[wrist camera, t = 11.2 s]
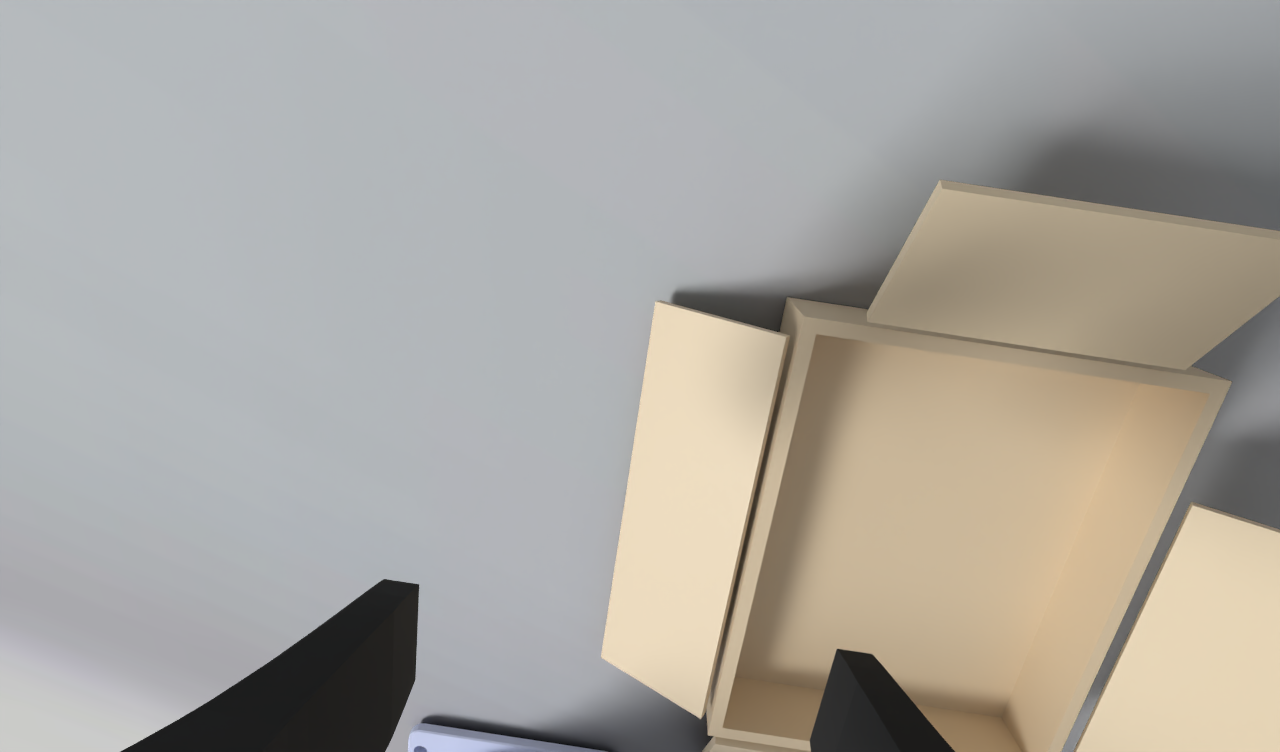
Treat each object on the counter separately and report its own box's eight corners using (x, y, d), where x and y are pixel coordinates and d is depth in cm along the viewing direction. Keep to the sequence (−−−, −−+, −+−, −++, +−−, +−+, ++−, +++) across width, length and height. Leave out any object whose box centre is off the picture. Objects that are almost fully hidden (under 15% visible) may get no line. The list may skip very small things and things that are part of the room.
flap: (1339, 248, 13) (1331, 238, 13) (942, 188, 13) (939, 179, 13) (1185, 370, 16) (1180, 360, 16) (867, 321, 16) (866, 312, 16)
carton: (975, 798, 24) (1009, 869, 22) (588, 738, 24) (578, 803, 22) (1161, 353, 19) (1236, 382, 16) (659, 277, 19) (656, 294, 16)
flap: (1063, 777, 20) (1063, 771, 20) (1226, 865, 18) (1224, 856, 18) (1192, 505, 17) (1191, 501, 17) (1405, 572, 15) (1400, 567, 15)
